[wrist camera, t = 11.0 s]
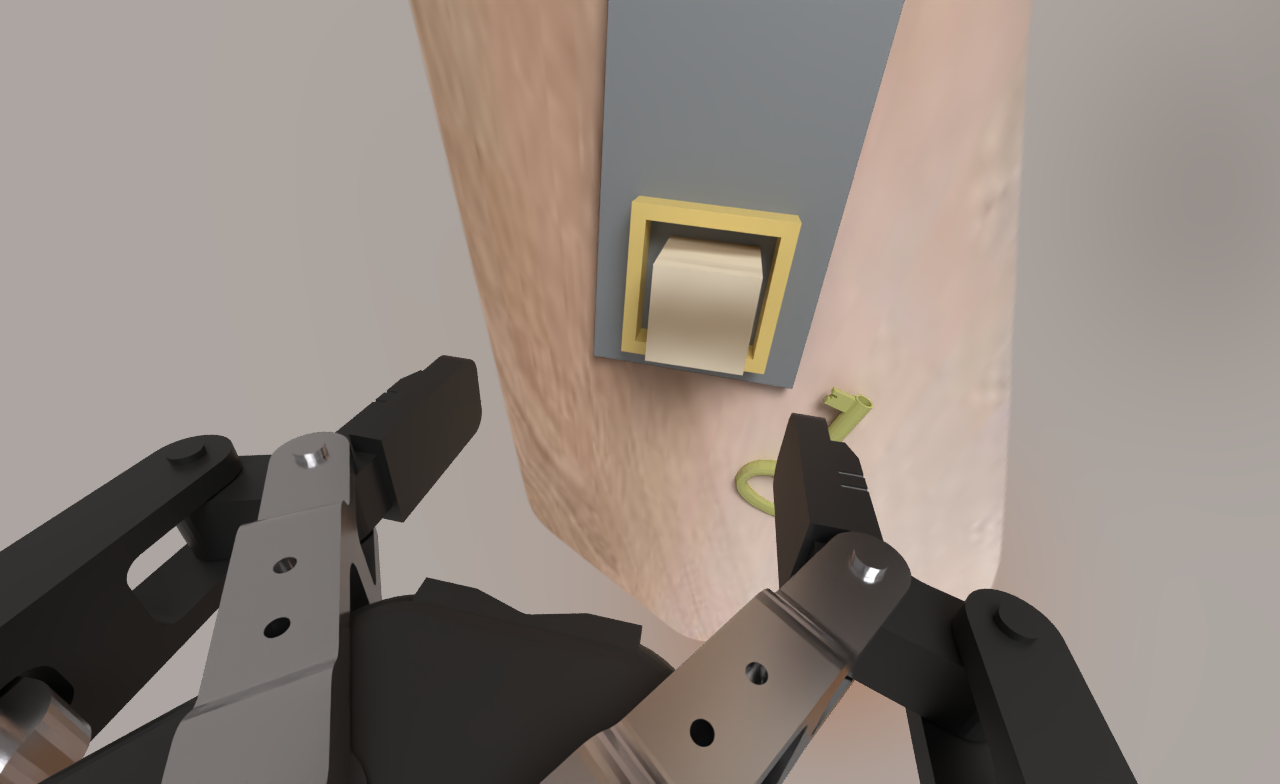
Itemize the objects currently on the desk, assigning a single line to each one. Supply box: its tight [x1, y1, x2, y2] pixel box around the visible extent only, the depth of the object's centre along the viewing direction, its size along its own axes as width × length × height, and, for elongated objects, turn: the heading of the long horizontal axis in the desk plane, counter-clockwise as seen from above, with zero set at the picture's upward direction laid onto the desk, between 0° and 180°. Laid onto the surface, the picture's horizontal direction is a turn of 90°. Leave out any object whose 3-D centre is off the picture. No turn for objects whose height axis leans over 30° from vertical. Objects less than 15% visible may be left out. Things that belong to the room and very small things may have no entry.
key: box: [736, 387, 873, 516], centre depth 34 cm, size 7×12×2 cm, turn 176°
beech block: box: [645, 235, 763, 375], centre depth 26 cm, size 5×5×6 cm
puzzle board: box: [594, 0, 905, 389], centre depth 26 cm, size 22×13×3 cm, turn 175°
